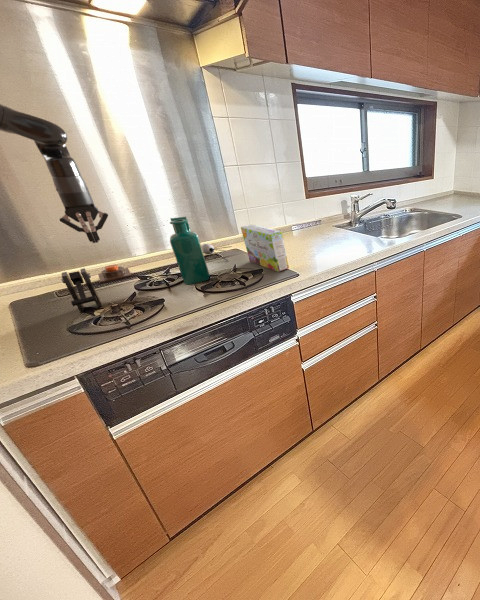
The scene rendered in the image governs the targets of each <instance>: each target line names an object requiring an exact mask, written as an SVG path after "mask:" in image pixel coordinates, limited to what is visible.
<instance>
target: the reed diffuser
mask: <svg viewBox="0 0 480 600" xmlns="http://www.w3.org/2000/svg"><path fill="white" fill-rule="evenodd" d="M201 247H202V251H203V254H204V255H207V256H211V255H212V256H213V258H214V259H215V260H216V259H217V258H216V257H215V255H217V256H218V257H220V258H222V259H224V260H225V261H227V262H229V260H228V259H226V258H225V257H224V256H222V255H219V253H217V252H215V251H218V250H219V251H220V252H225V249H227V248H228V246H224V247H214V245H212V244H210V243H202V244H201ZM229 248H232V246H229ZM223 249H224V250H223Z"/></svg>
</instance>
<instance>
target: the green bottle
mask: <svg viewBox="0 0 480 600" xmlns="http://www.w3.org/2000/svg"><path fill="white" fill-rule="evenodd" d="M169 220H170V222H169V224H170V225H172V229H173V232H174V233H172V234H171V235H170V237H169V244H170V247H171V250H172V252H173V255H174V258H175V261H176V263H177V267H178V269H179V273H180V275H181V278H182V281H183V284H185V285H194V284H198V283H197V282H199V283H203V282H202V281H204V282H207V281H206V280H208V279H209V276H210V277H211V274H210V271H209V267H208V263H207V261H206V257H205V254H204V253H203V251H202V247H201V245H202V244H201V241H200V238H199V235H198V233H197V232H195V231H192V230H191V227H190V224H189V220H188V218H187V216H177V217H171V218H169ZM208 281H209V280H208Z"/></svg>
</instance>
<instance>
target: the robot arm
mask: <svg viewBox="0 0 480 600" xmlns="http://www.w3.org/2000/svg"><path fill="white" fill-rule="evenodd" d="M0 131H1V132H5V133H7V134H12V135H17V136H21V137H23V138H26V139H29V140H31V141H33V142H34V144H35V146H36V148H37V149H38V151H39V153H40V154H41V156H42V158H43V159H44V162H45V165H46V167H47V170H48V172H49V174H50V176H51V179H52V181H53V182H52V183H53V185H54V187H55V191H56V193H57V195H58V197H59V199H60V201H61V203H62V205H63V207H64V214H63V216H61V217H59V222H61V223H63V224H64V225H66V226H68V227H69V228H70V229H73V230H75V231H77V233H85V234H86V237H87V239H88V241H89V242H90V243H92V244H99V242H100V239H101V238H100V235H99V234H98V231H99V230H101V229H102V228H103V227H104V225H105V223H106V222H107V219H108V217H109V214H108V212H104V211H101V210H100V209H99V208H98V207H97V206H96V205H95V202H94V201H93V198H92V195H91V193H90V190H89V187H88V185H87V183H86V181H85V179H84V178H83V176H82V174H81V171H80V169H79V166H78V164H77V162H76V161H75V159H74V158H73V157H72V156H71V154H70V152H69V149H68V147H67V145H66V143H67V142H68V135H67V133H66V131H65V130H64V129H63V127H61V126H60V125H58V124H56V123H54V122H53V121H50V120H46V119H44V118H42V117H38V116H35V115H32V114H28V113H25V112H22V111H18V110H16V109H14V108H11V107H9V106H7V105H3V104H1V103H0ZM97 216H98V217H99V218H100V219H99V221H98V223H97V224H96V225H95V223H94V222H95V220H96V218H97ZM71 219H72V220H73V221H75V222H77V223H79V224H80V225H81V226H79V225H77V224H75V223H73V222H72V221H71ZM87 222H88V225H87ZM88 226H89V227H88Z"/></svg>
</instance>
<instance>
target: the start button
mask: <svg viewBox="0 0 480 600" xmlns="http://www.w3.org/2000/svg"><path fill="white" fill-rule="evenodd" d="M118 267H119V265H118V264H109V265H107V266H105V267H104V270H105V269H106V271H107V272H112V271H116V270H119V268H118Z"/></svg>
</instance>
